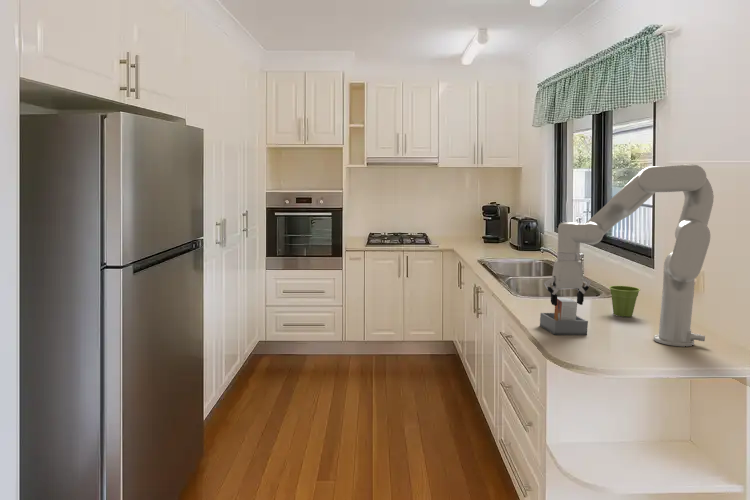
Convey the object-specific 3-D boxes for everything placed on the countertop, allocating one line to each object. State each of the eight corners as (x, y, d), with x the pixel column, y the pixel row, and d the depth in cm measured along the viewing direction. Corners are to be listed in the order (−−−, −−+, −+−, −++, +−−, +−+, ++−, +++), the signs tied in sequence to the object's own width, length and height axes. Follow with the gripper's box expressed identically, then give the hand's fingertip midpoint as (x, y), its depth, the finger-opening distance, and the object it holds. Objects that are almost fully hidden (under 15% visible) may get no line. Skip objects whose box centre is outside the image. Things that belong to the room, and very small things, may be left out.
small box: (553, 325, 228) (555, 297, 226) (568, 325, 228) (570, 297, 226) (559, 330, 220) (561, 301, 218) (575, 331, 220) (577, 302, 218)
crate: (570, 325, 231) (571, 312, 230) (586, 334, 218) (587, 321, 217) (539, 326, 229) (540, 312, 229) (554, 335, 216) (555, 321, 216)
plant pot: (608, 310, 260) (610, 284, 259) (638, 314, 255) (641, 287, 254) (605, 316, 250) (607, 288, 248) (637, 319, 245) (639, 291, 243)
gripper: (586, 255, 225) (584, 301, 227) (541, 256, 223) (539, 303, 225) (596, 258, 218) (594, 305, 220) (549, 259, 215) (548, 307, 217)
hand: (567, 304), depth 222 cm, fingers open, 9 cm apart
